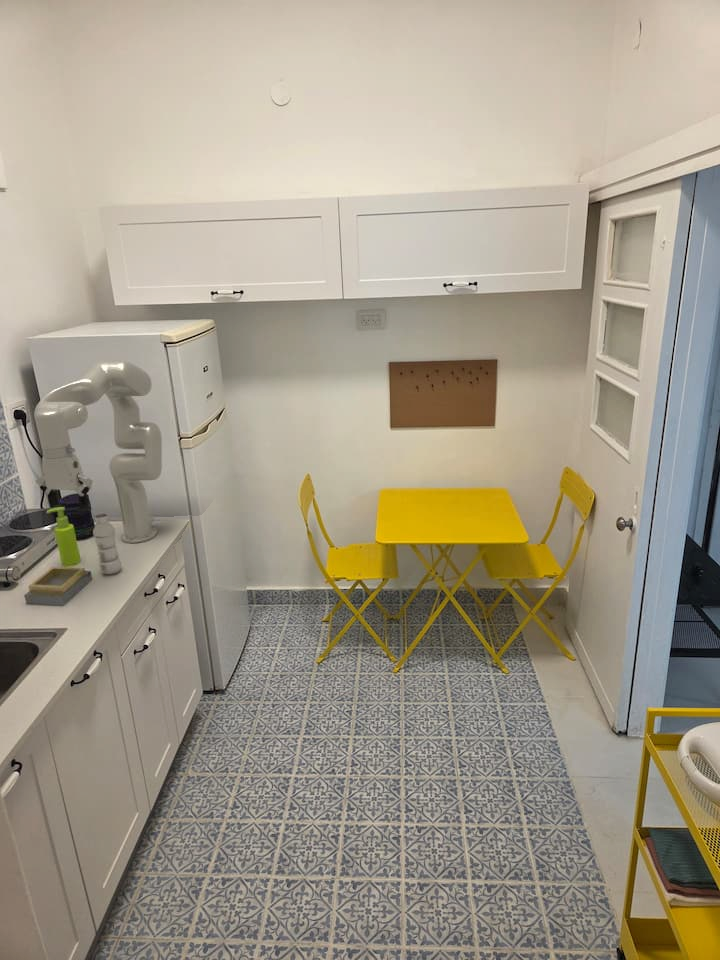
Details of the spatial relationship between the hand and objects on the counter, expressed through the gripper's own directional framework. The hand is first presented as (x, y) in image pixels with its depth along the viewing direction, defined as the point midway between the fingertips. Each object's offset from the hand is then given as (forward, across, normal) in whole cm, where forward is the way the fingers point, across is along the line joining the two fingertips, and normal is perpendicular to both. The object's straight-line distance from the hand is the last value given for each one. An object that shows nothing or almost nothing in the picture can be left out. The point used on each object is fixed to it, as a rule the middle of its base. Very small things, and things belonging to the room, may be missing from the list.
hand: (69, 506), depth 185 cm
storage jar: (+28, +24, -36) cm, 52 cm away
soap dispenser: (+28, +16, -15) cm, 36 cm away
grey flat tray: (+28, +8, +3) cm, 29 cm away
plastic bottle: (+28, -2, -10) cm, 30 cm away
